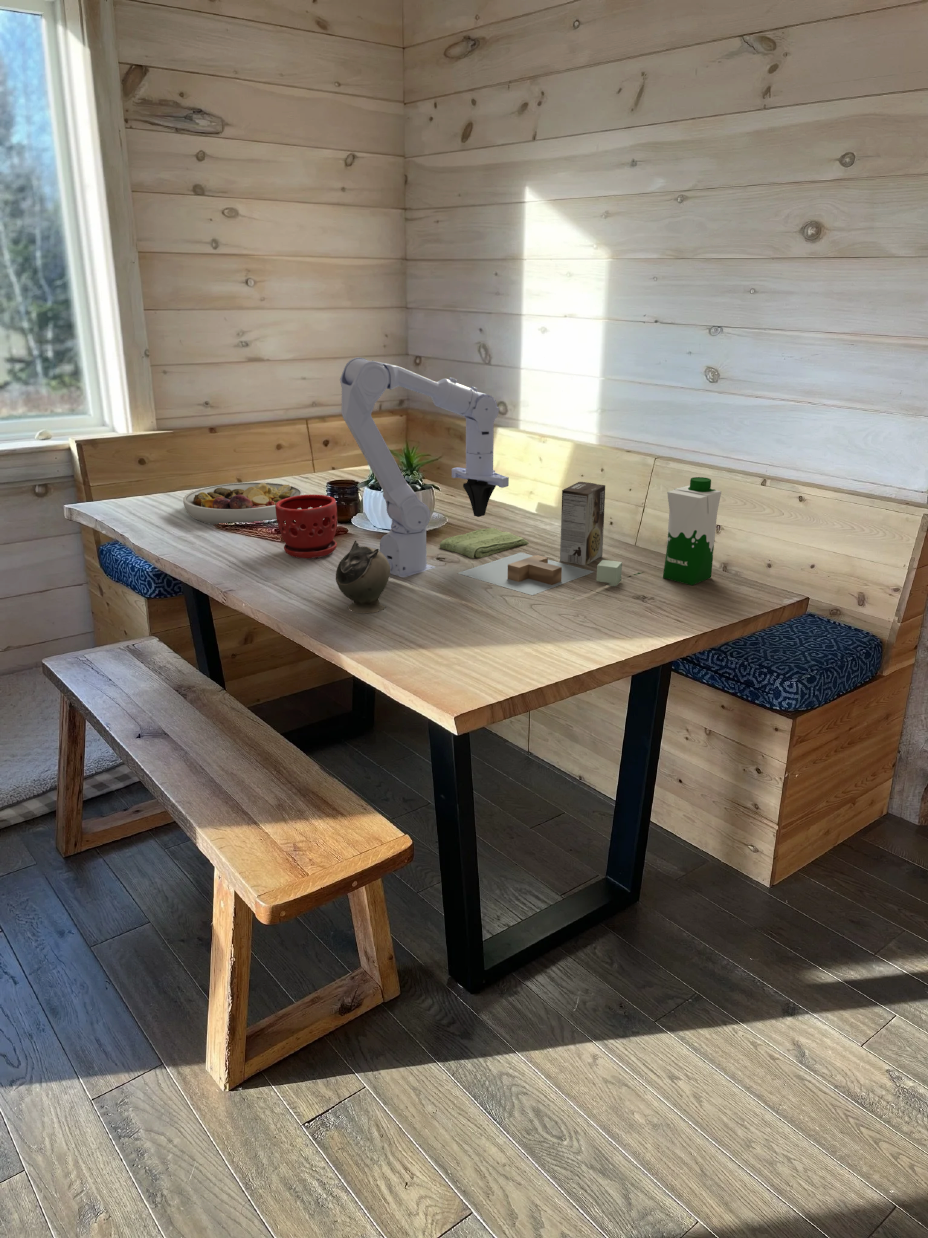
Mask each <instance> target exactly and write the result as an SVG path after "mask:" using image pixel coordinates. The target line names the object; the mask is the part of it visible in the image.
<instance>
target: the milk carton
mask: <svg viewBox="0 0 928 1238" xmlns="http://www.w3.org/2000/svg"><path fill="white" fill-rule="evenodd" d="M711 485H712V479H711V478H708V477H702V476H701V477H700V476H698V477H697V476H695V477H691V478H690V480H689V485H686V486H685V485H684V486H681V487H678V488H677V487H676V488H674V489H673V490H669V491H667V492H666V495H667V502H668V510H669V513H668V527H667V539H666V550H665V551H666V552H665V560H664V567H663V572H662V573H663V574H662V578H663V579H665V580H666V579H667V580H671V581H674V582H679V583H682V584H685V585H689V586H694V585H697V584H699V583H702V582H703V581H706V580H708V579H711V578H712V571H713V559H714V550H715V539H716V528H717V518H718V517H717V516H718V510H719V506H720V500H721V495H722V491H721V490H716V489H712V488H711V487H712V486H711Z"/></svg>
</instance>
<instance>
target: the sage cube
mask: <svg viewBox="0 0 928 1238" xmlns="http://www.w3.org/2000/svg"><path fill="white" fill-rule="evenodd" d="M622 571H623V562H622V561H617V560H608V559H602V560H601V561H599V563H598V564H597V566H596V582H599V583H600V582H601V583H607V584H605V586H608V587H609V586H611V587H617V586H618V585H619V583H620V582H621V581H622Z"/></svg>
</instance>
